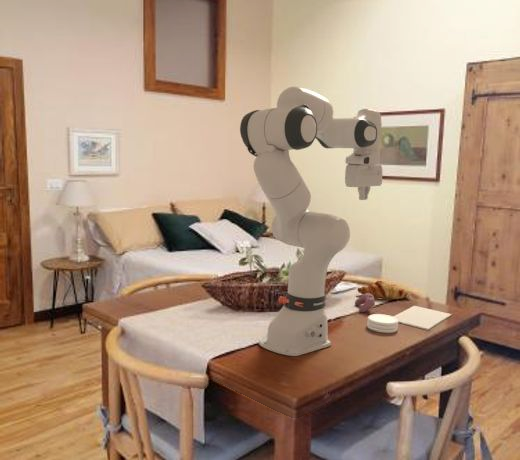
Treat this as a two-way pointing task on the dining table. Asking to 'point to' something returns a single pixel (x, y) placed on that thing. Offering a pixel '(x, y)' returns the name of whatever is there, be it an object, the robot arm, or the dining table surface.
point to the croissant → (384, 291)
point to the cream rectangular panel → (421, 317)
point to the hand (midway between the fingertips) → (363, 199)
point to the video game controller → (365, 302)
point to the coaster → (382, 323)
